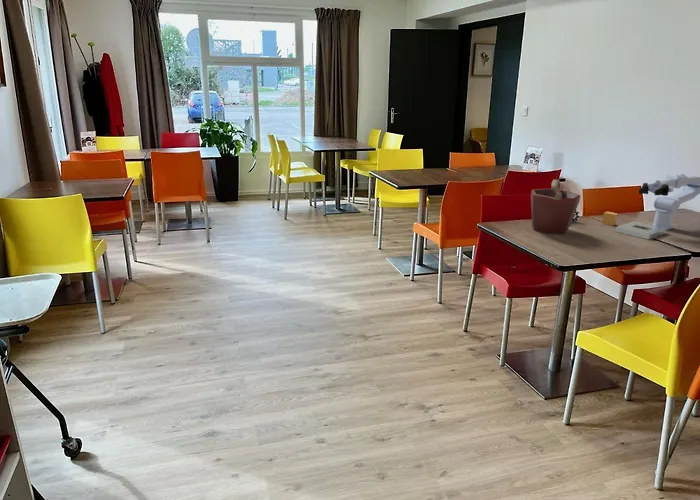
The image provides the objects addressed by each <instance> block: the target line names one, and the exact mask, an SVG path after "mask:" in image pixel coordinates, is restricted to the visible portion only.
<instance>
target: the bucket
mask: <svg viewBox="0 0 700 500" xmlns="http://www.w3.org/2000/svg"><path fill="white" fill-rule="evenodd" d="M550 185H551V188H552V189H551V188H540V189H539V188H536V189H531V191H530V192H531V194H530V208H531V227H532V229H533V231H535V232H538V233H543V234H545V235H546V234H547V235H565V233H567V232H568V231H569V228H570V225H571V223H572V222H573V221H572V218H574V217H573V216H574V214H576V213H575V211H576V212H577V208H578V205H579V203H580V199H581V194H578V193H575V192H572V191H569V190H563V189H562V190H561V189H560V188H561V180H560V179H552V182H551V184H550Z"/></svg>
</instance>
